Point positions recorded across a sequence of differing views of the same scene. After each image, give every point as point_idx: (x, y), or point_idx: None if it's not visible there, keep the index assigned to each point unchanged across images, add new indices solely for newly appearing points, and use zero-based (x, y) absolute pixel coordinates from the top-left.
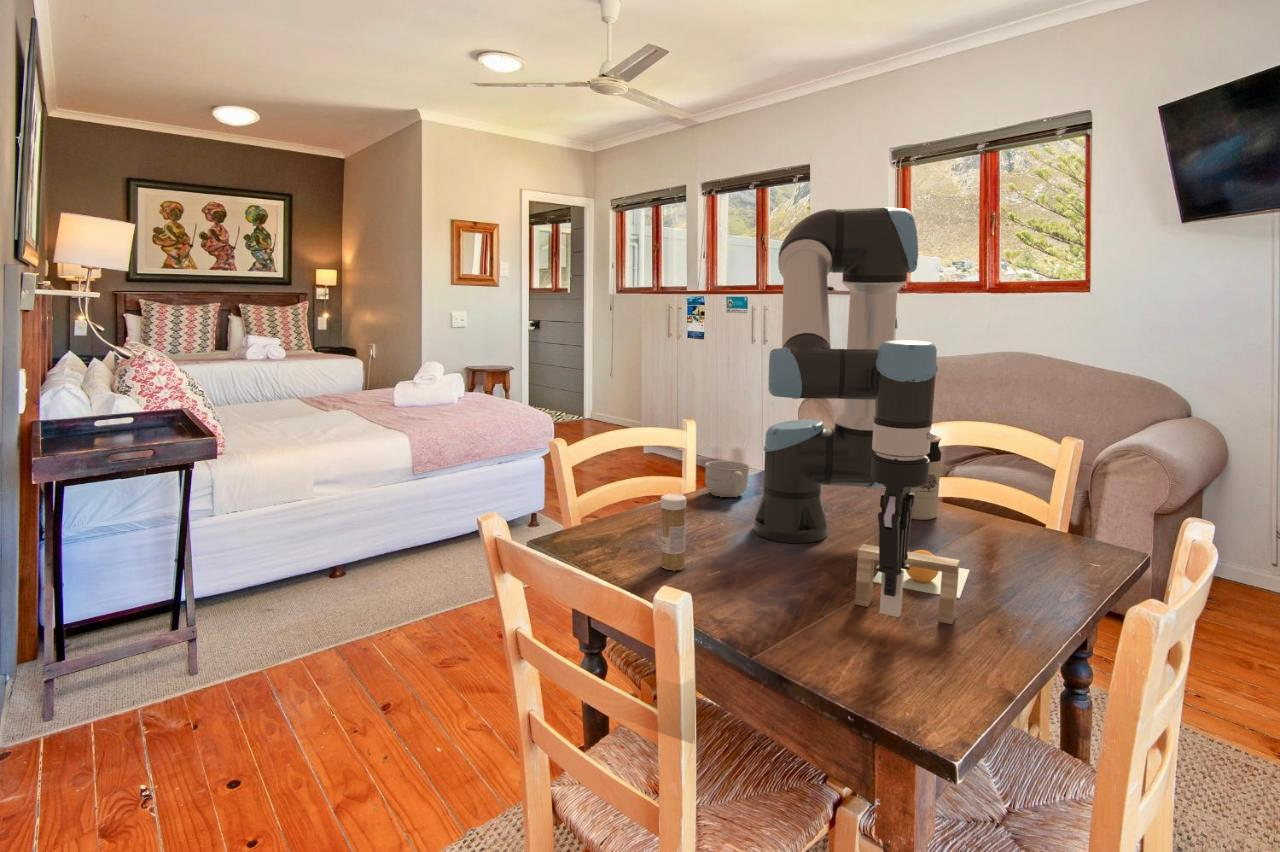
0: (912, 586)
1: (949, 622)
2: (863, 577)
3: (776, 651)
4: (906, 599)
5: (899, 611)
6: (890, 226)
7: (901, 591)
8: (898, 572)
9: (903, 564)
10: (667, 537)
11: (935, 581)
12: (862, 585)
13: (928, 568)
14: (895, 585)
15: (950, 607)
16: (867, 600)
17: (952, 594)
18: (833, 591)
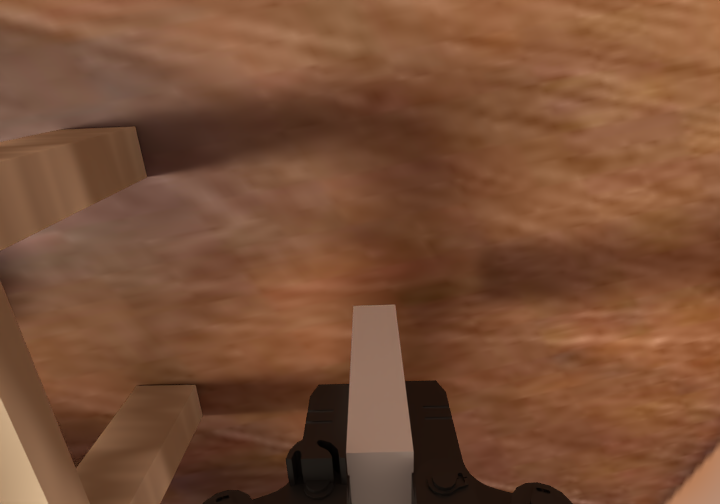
0: None
1: (134, 138)
2: (157, 480)
3: (601, 489)
4: (47, 303)
5: (393, 316)
6: None
7: (380, 370)
8: (554, 500)
9: (332, 491)
10: None
11: None
12: (171, 454)
13: (13, 326)
14: (436, 421)
15: (99, 149)
16: (187, 400)
17: (58, 157)
18: None
